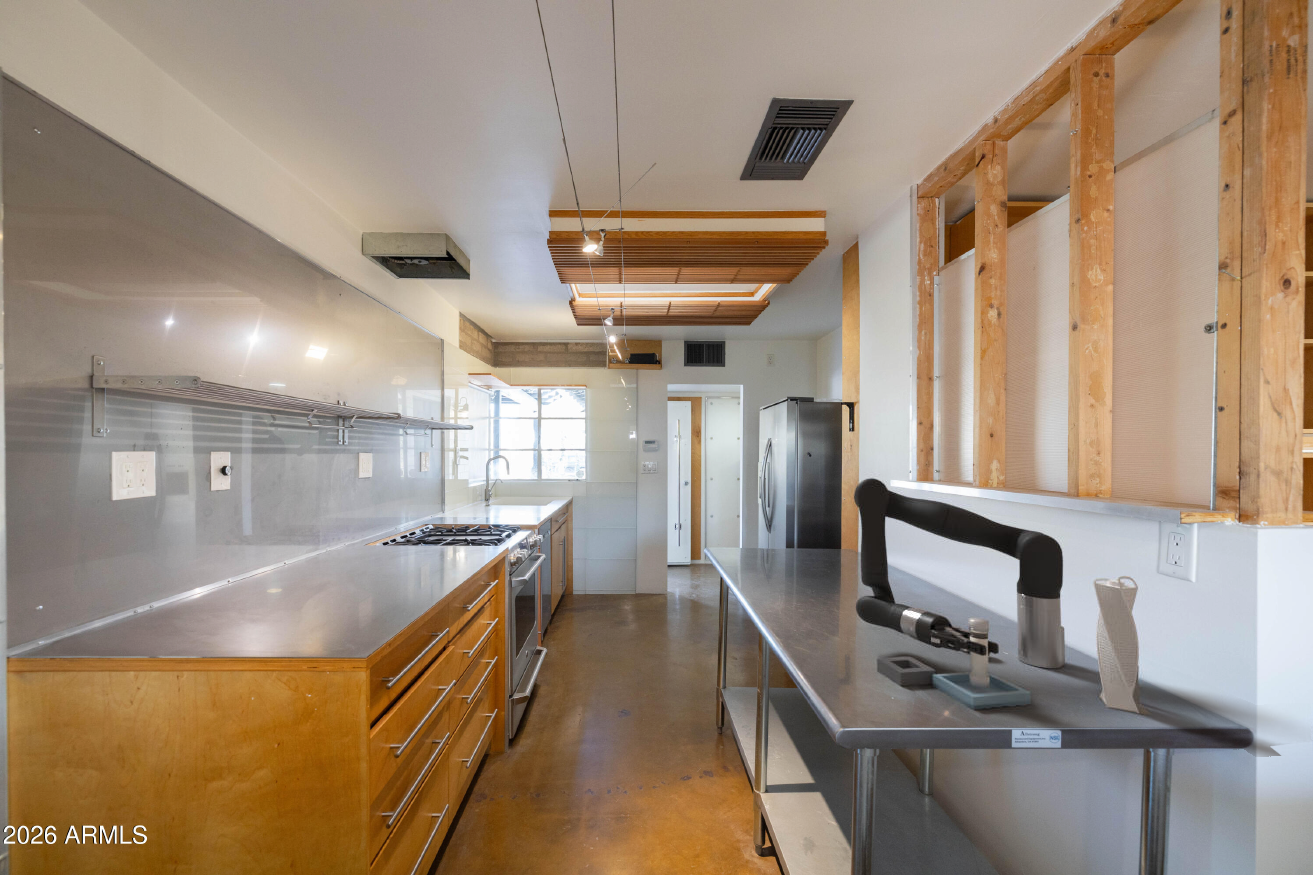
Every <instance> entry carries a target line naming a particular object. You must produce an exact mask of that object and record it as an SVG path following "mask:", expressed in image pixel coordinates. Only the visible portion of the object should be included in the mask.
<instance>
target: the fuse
mask: <svg viewBox="0 0 1313 875" xmlns="http://www.w3.org/2000/svg"><path fill="white" fill-rule="evenodd" d="M989 622H990V621H989V620H987V619H984V618H982V617H981V618H980V617H970V618H969V617H968V630H969V629H970V640H971V641H973V642H977V643H980V644H983V645H985V646H986V655H985V656H981V655H979V654H976V653H973V652H971V651H969V654H970V655H969V659H970V661H969V662H970V664H969V665H970V666H969V667H970V671H969V672H970V673H969V678H970V684H971V685H973V686H975V687H979V688H989V687H990V677H989V676H988V672H989V656H988V641H989V631H990V630H989V629H990V624H989Z"/></svg>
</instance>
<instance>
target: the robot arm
mask: <svg viewBox="0 0 1313 875" xmlns="http://www.w3.org/2000/svg"><path fill="white" fill-rule="evenodd" d="M853 500H854V503H855V505H856V507H857V508H858V510H859V516H860V523H861V537H860V538H861V539H860V540H861V542H860V573H861V574H860V576H861V577H860V578H861V582H862V585H864V586H865V587H869V588H871V591H872V593H873V595H864V596H861V597H860V598H858V600H857V601H856V603H855V611H856V614H857V615H858V617H859V618H860V619H861V620H862V621H864V622H865V623H867V624H871V625H875V626H878V627H882V628H888V629H890V630H893V631H896V632H898V633H900V634H903V635H906V636H908V637H909V638H911V639H914V640H917V641H919V642H920V643H923V644H926V645H929V646H931V647H933V648H938V649H941V648H943V649H947V650H951V651H955V652H960V651H964V652H970V651H971V652H973V653H976V654H979V655H981V656H985V655H986V646H985V645H983V644H980V643H977V642H973V641H971V640H970V629H969V628H968V629H967V630H966V629H964V628H961V627H959V626H956V625H952V622H950V620H949V619H948V618H947V617H946V616H944V615H940V614H937V613H935V612H934V613H933V612H931V611H928V610H926V609H921V608H915V607H911V606H909V605H906V604H901V603H896V601H895V598H894V593H893V591H892V587H891V585H890V581H889V566H888V563H889V562H888V553H887V552H888V551H887V542H886V518H889V519H893V520H895V521H896V520H897V521H900V522H903V523H905V524H908V525H910V526H913V527H915V528H918V529H920V530H922V531H926V532H928V533H931V534H933V535H936V536H938V537H939V536H940V537H942V538H945V539H947V540H950V541H954V542H958V543H962V544H967V545H970V546H978V547H983V548H987V549H988V548H989V549H990V550H991V549H992V550H994V551H997V552H998V553H1002V554H1005V555H1007V556H1010V557H1012V558H1014V559H1016V560H1018V561H1019V574H1018V575H1019V577H1018V580H1017V581H1016V607H1017V608H1016V613H1017V614H1016V616H1017V620H1016V621H1017V658H1018V660H1019V661H1021V662H1023V663H1024V664H1027V665H1030V666H1034V667H1039V668H1045V669H1060V668H1062V666H1066V644H1065V642H1066V641H1065V637H1066V636H1065V628H1064V626H1062V617H1061V616H1062V612H1061V611H1062V610H1061V590H1062V587H1063V582H1064V556H1063V549H1062V547H1061V545H1060V543H1059V542H1058V541H1057V540H1056V539H1055V538H1054V537H1052V536H1050V535H1048V534H1045V533H1043V532H1039V531H1037V530H1036V531H1035V530H1029V529H1025V528H1018V527H1016V526H1012V525H1007V524H1003V523H999V522H996V521H994V520H991V519H989V518H987V517H985V516H983V515H980V514H978V513H975V512H972V511H970V510H968V509H965V508H961V507H959V506H956V505H953V504H949V503H946V502H942V501H937V500H932V499H931V500H929V499H924V498H923V499H922V498H915V497H910V496H906V495H902V494H900V493H897V492H894V491H891V490H889V489H888V487H887V486H886V484H885V483H883V481H881V480H879V479H877V478H873V477H872V478H866V479H863V480H861V482H858V484H857V486H856V487H855V489H854V494H853ZM999 650H1000V649H999V644H998V643H996V642H994V641H990V640H988V652H990V654H994V655H996V654H999Z"/></svg>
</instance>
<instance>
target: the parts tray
mask: <svg viewBox="0 0 1313 875" xmlns="http://www.w3.org/2000/svg"><path fill="white" fill-rule="evenodd" d="M969 673H970V671H966V672H965V671H963V672H952V673H950V672H949V673H937V674H936V673H935V674H934V675H933V684H932V686H933V687H934V688H936V689H938V690H940V691H941V692H943V693H944V692H945V693H944V694H946V695H948V696H949V697H951V698H953V699H955V700H957V701H958V702H959V703H962V704H963V705H965V706H967V707H969V708H970V709H972V710H983V708H986V709H992V708H991V707H997V708H1003V707H1002V706H1009V707H1016V705H1020V706H1027V705H1026V704H1031V692H1030V691H1028V690H1026V689H1024V688H1022V687H1019V685H1015V684H1014V683H1012V682H1009V681H1007V680H1006V679H1003V678H1001V677H999V676H997V675H995V674H992V673H990V672H989V671H988V676H989V677H990V687H989V688H979V687H975V686H973V685H971V684H970V678H969Z"/></svg>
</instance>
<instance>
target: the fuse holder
mask: <svg viewBox="0 0 1313 875" xmlns="http://www.w3.org/2000/svg"><path fill="white" fill-rule="evenodd" d="M876 670H877V672H878V673H879V674H881V675H883V676H884V677H886V678H887V679H889V680H891V681H892V682H893V683H896V684H897V685H898V686H900V687H906V686H921V685H933V675H934V674H936V669H934V668H933V667H931V666H928V665H926V664H924V663H923V662H921V661H920V660H918V659H916V658H914V657H912V656H909V655H908V656H896V657H895V656H894V657H893V656H892V657H880V658H879V657H878V658H876Z"/></svg>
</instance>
